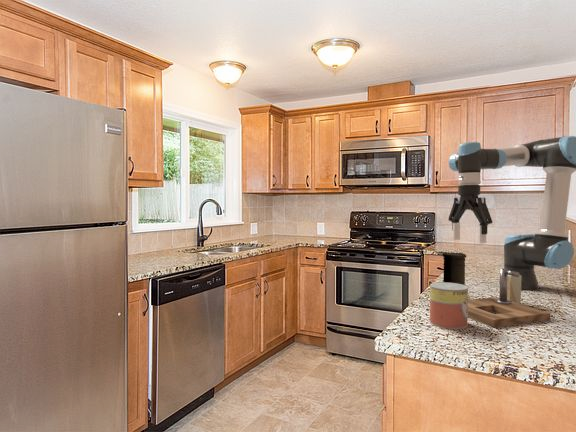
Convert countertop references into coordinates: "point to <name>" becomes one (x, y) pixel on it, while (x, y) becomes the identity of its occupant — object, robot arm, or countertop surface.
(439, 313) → the canned food
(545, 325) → the countertop surface
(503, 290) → the door lever handle
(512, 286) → the box
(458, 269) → the container
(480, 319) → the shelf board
